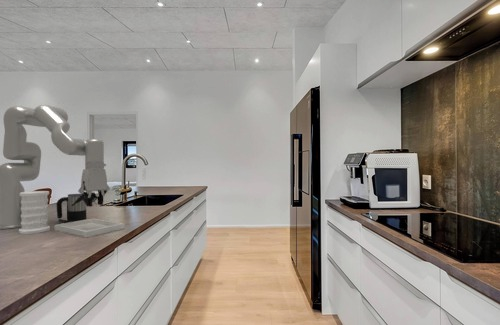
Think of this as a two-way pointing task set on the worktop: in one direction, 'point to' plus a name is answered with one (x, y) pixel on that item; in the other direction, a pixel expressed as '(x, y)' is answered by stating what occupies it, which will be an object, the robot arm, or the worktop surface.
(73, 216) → the milk frother
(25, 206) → the decorative container
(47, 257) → the worktop surface
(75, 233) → the tray
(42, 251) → the worktop surface
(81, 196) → the power plug
